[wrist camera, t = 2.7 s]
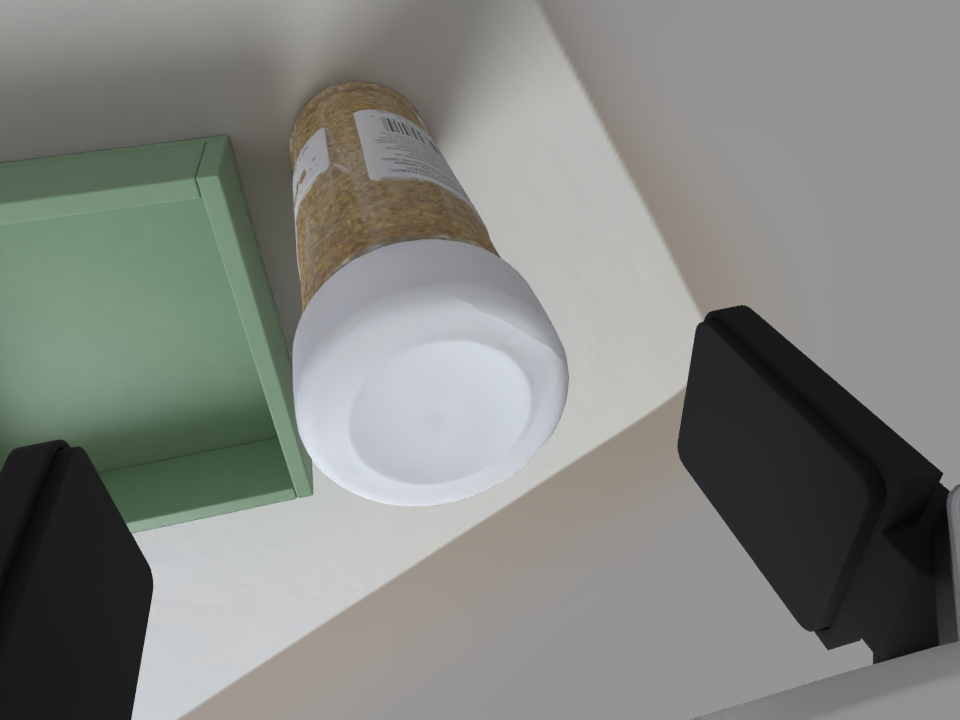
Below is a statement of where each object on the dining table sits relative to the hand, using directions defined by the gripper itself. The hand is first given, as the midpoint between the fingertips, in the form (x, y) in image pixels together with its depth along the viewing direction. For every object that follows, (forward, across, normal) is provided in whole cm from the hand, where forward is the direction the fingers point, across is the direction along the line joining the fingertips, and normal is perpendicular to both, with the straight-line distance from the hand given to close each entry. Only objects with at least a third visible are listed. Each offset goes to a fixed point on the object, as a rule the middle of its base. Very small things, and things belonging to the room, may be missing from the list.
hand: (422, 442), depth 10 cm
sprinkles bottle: (+14, -1, 0) cm, 14 cm away
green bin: (+14, +9, +5) cm, 17 cm away
